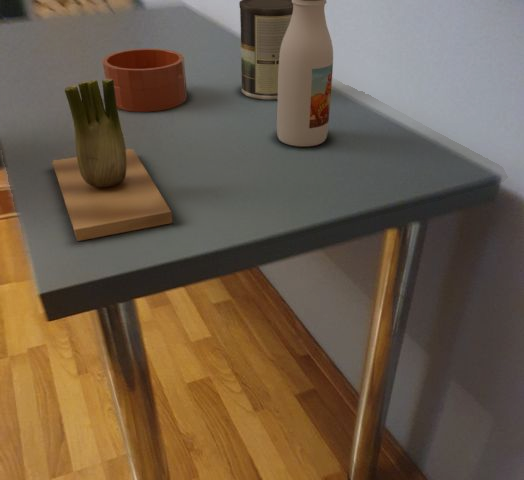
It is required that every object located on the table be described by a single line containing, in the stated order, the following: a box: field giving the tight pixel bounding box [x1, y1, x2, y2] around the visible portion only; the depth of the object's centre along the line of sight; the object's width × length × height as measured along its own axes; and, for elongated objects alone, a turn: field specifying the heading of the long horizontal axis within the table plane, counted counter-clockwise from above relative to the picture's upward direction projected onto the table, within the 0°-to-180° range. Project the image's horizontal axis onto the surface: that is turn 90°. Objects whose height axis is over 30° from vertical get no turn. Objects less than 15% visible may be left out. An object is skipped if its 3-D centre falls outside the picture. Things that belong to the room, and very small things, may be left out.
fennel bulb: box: [64, 79, 127, 187], centre depth 64 cm, size 6×5×12 cm
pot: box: [102, 48, 188, 113], centre depth 95 cm, size 14×14×6 cm
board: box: [51, 148, 174, 242], centre depth 69 cm, size 20×11×2 cm, turn 23°
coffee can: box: [238, 0, 293, 101], centre depth 96 cm, size 10×10×14 cm
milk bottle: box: [276, 0, 334, 147], centre depth 77 cm, size 8×8×20 cm
